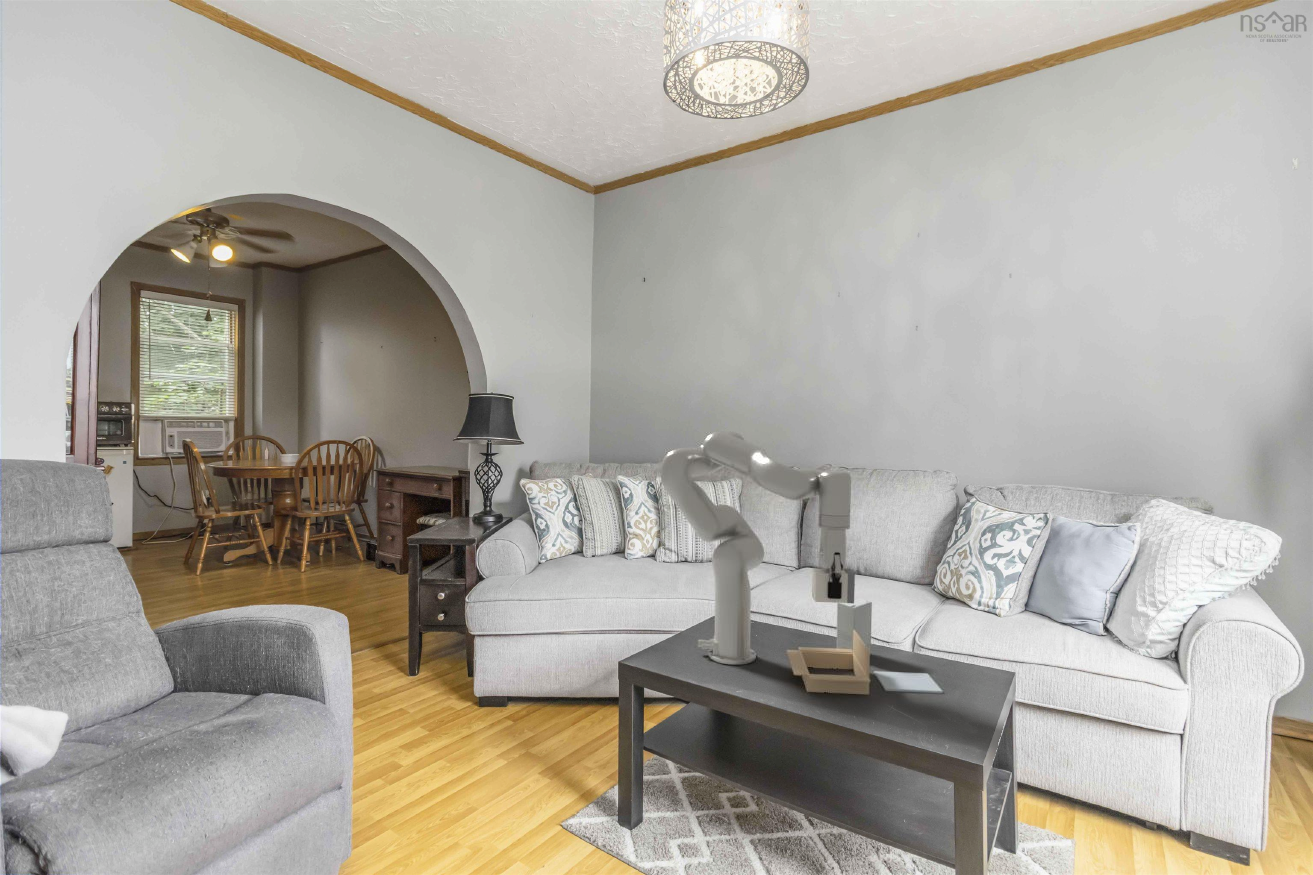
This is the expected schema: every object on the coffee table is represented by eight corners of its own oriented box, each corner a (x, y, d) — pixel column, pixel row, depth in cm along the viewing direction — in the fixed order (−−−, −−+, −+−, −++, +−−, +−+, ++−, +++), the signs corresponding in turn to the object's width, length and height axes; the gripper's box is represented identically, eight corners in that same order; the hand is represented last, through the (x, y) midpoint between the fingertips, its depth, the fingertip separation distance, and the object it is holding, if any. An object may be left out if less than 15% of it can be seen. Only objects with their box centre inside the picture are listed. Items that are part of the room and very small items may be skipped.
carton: (795, 695, 152) (795, 652, 152) (785, 662, 173) (786, 624, 173) (871, 698, 151) (872, 655, 151) (852, 665, 172) (852, 627, 171)
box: (815, 601, 159) (815, 572, 159) (812, 596, 164) (812, 567, 164) (854, 603, 159) (854, 573, 158) (849, 597, 164) (850, 568, 163)
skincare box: (853, 649, 184) (854, 596, 184) (872, 655, 179) (873, 600, 179) (835, 655, 179) (835, 601, 178) (854, 662, 174) (855, 606, 174)
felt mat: (885, 690, 155) (885, 688, 155) (874, 673, 166) (874, 671, 166) (942, 693, 154) (942, 691, 154) (927, 675, 165) (927, 673, 165)
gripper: (813, 515, 170) (811, 585, 170) (824, 526, 153) (822, 604, 153) (842, 516, 169) (841, 587, 170) (857, 527, 152) (855, 605, 153)
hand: (832, 594), depth 161 cm, fingers closed on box, 5 cm apart
